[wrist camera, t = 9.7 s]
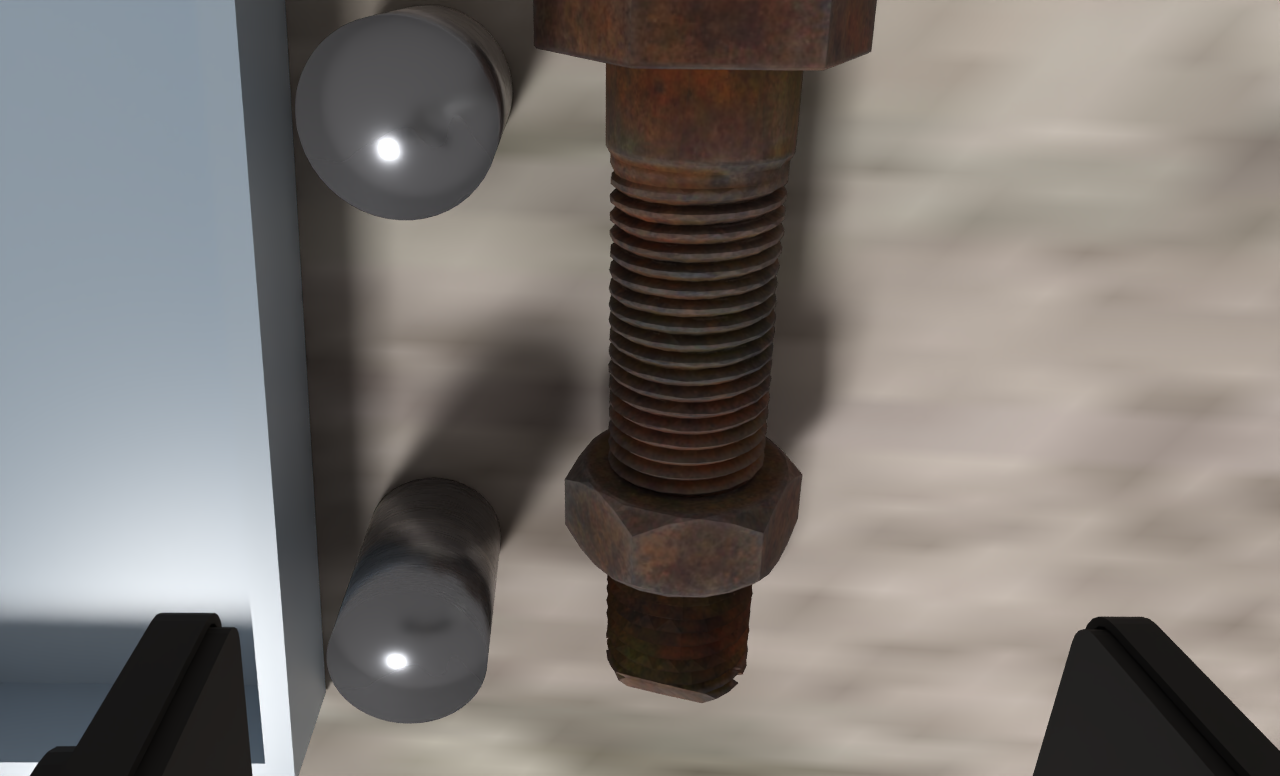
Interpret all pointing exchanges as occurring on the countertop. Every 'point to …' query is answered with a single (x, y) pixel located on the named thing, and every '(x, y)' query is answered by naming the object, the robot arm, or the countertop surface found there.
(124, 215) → the tray
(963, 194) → the countertop surface
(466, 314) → the countertop surface
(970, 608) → the countertop surface
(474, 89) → the peg
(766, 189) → the bolt
